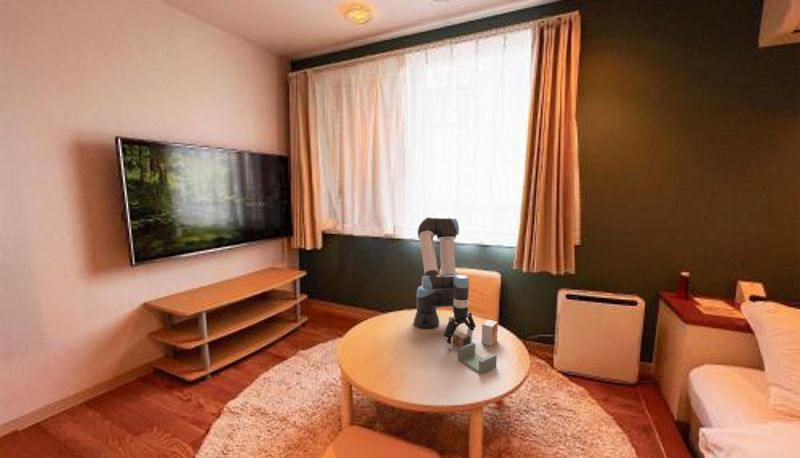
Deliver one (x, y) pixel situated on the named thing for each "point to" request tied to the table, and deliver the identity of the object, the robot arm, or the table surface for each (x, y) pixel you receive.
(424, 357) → the table surface
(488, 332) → the small box
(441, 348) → the table surface
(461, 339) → the rail end
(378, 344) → the table surface
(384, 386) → the table surface
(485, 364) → the bracket
